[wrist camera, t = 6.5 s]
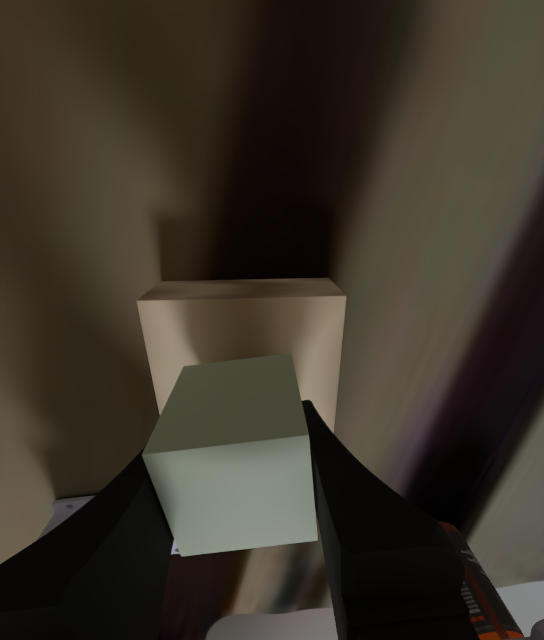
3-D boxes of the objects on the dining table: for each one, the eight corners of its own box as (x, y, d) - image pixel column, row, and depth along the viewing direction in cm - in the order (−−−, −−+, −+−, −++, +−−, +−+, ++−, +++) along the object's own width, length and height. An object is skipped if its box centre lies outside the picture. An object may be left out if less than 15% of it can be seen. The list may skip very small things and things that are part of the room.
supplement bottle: (382, 545, 27) (459, 758, 17) (424, 508, 26) (540, 720, 15) (427, 562, 29) (525, 768, 18) (470, 528, 27) (605, 734, 16)
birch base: (184, 412, 21) (168, 457, 17) (162, 279, 17) (136, 300, 13) (319, 407, 21) (331, 450, 18) (327, 276, 17) (346, 296, 14)
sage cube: (205, 447, 15) (181, 556, 10) (183, 366, 13) (141, 454, 8) (299, 436, 15) (317, 540, 10) (291, 353, 13) (308, 435, 8)
